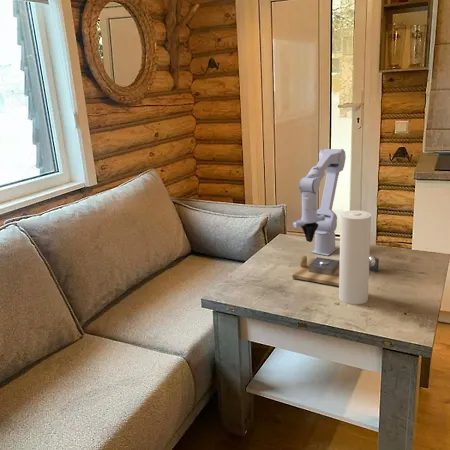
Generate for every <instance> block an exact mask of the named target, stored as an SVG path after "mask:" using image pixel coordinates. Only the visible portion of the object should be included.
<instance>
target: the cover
mask: <svg viewBox="0 0 450 450" xmlns="http://www.w3.org/2000/svg"><path fill="white" fill-rule="evenodd" d="M314 259H315V260H314V261H313V262H312V263H311V264H310V265H309V272H312V273H318V274H324V275H330V276H332V275H333V274H334V273H335V272H336V270H337V269H338V268H339V262H340V259H339V260H338V259H331V258H326V257H318V256H317V257H316V258H314Z"/></svg>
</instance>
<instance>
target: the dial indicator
mask: <svg viewBox="0 0 450 450" xmlns="http://www.w3.org/2000/svg"><path fill="white" fill-rule="evenodd" d="M379 263H380V259H379V258H378V257H376V256H373V255H370V257H369V272H372V273H375V272H378V271H379V267H380V266H379V265H380V264H379Z"/></svg>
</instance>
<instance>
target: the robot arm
mask: <svg viewBox="0 0 450 450" xmlns="http://www.w3.org/2000/svg"><path fill="white" fill-rule="evenodd" d="M346 159H347V157H346V151H345V150H344V149H343V148H341V149H340V148H339V149H337V148H321V149H320V151H319V153H318V162H317V164H316V165H314V166H312V167H311V168H310V170H309V172H308V173H307V174H306V176H305V177H302V178H300V180H299V182H298V190H299V193H300V194H299V196H300V197H301V218H299V219H297V220H296V221H293V222H292V227H294V229H295V228H296V229H298V228H299V227H300V228H301V229H302V231H303V233H304V237H305V240H306V242H309V243H311V242H313V241H314V249H313V250H311V251H310V253H311V254H317V255H322V256H327V257H328V256H330V255H331V254H333V253H334V252H335V251H336V250H338V247H336V232H335V231H336V230H337V227H338V226H337V225H338V216H337V214H336V212H334V211H333V205H334V201H335V195H336V191H337V185H338V180H339V175H340V172H342V171H344V168H345V163H346ZM325 172H326V173H325ZM325 175H326V176H325ZM324 176H325V182H324V186H323V192H322V197H321V202H320V207H319V208H317V207H318V205H317V204H318V195H317V194H318V192H319V190H320V185H321V182H322V180H323V178H324Z"/></svg>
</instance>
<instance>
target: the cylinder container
mask: <svg viewBox="0 0 450 450" xmlns="http://www.w3.org/2000/svg"><path fill="white" fill-rule="evenodd" d="M339 216H340V217H339V219H340V221H339V222H340V223H339V262H340V270H339V286H338V297H339V300H340V301H341V302H343V303H345V304H348V305H353V306H354V305H362V304H365V303H367V302H368V300H369V280H370V279H369V276H370V270H369V257H370V256H371V255H370V252H371V230H372V228H371V227H372V225H371V224H372V213H370V212H368V211H365V210H359V209H358V210H355V209H354V210H346V211H342V212H340V215H339Z"/></svg>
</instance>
